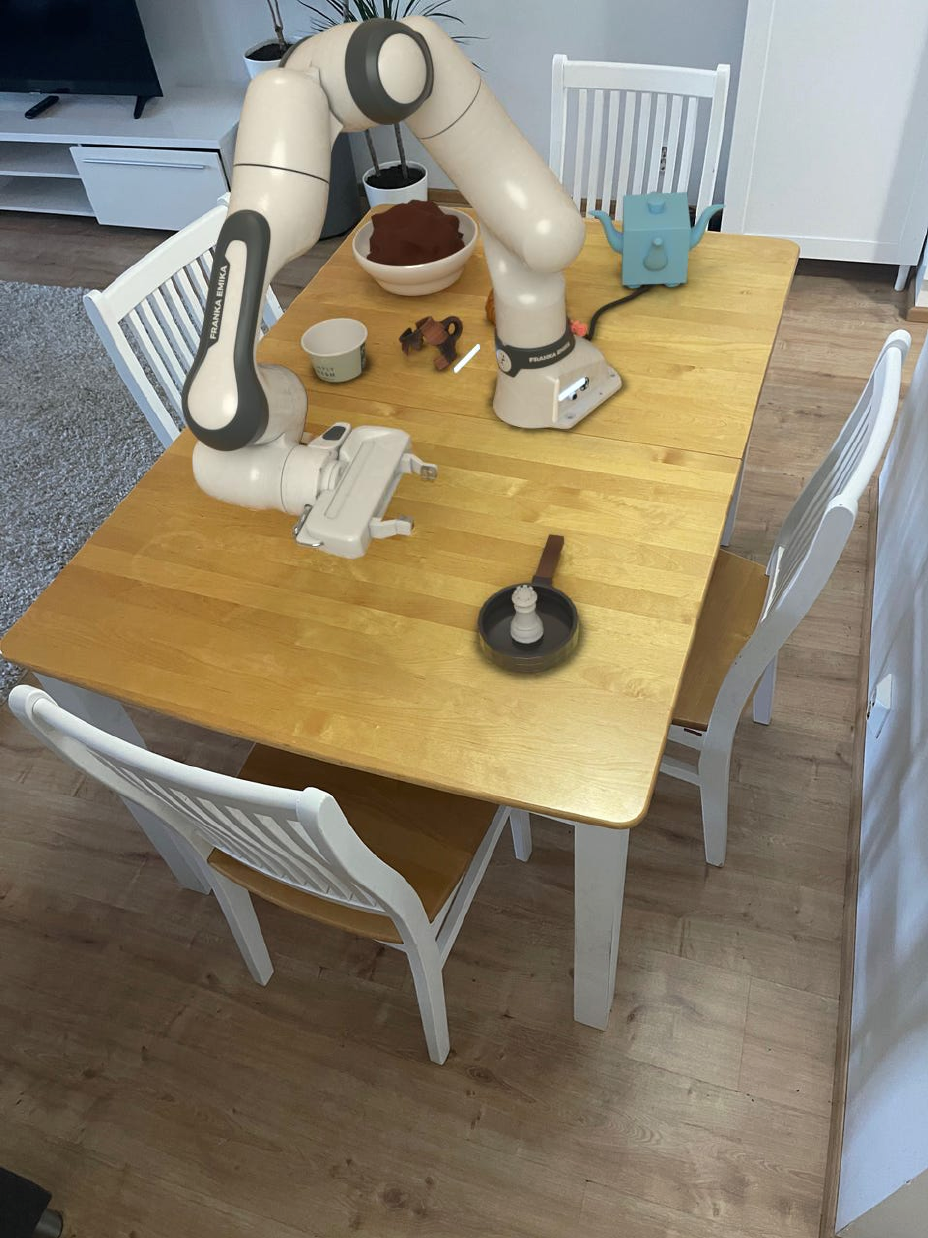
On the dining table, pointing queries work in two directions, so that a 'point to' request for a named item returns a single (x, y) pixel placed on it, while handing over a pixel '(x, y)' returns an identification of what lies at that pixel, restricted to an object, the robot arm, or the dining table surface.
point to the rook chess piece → (525, 616)
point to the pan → (544, 651)
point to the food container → (336, 348)
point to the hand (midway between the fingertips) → (424, 499)
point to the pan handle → (549, 560)
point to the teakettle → (655, 237)
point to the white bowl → (416, 247)
